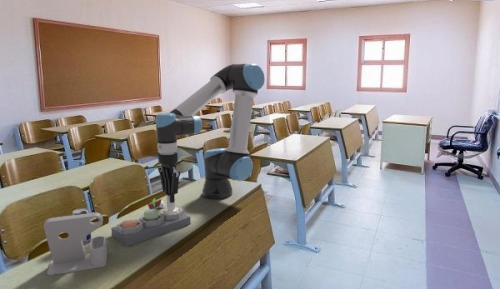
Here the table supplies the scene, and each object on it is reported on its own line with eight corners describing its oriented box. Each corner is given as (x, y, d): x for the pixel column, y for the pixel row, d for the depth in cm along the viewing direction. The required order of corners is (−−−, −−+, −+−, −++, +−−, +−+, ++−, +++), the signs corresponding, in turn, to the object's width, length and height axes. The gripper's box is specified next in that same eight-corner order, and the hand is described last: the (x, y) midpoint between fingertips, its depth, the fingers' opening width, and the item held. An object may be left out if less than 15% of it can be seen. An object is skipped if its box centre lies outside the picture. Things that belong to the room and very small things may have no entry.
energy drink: (83, 245, 129) (80, 214, 126) (72, 243, 130) (68, 212, 128) (94, 239, 133) (91, 208, 131) (83, 237, 135) (80, 207, 133)
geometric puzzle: (142, 211, 154) (152, 197, 153) (147, 205, 161) (156, 191, 160) (156, 220, 155) (166, 206, 154) (160, 214, 162) (170, 201, 160)
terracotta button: (133, 224, 138) (133, 218, 138) (140, 228, 134) (140, 222, 134) (119, 228, 135) (119, 222, 134) (126, 233, 131) (125, 227, 130)
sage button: (154, 213, 144) (154, 208, 144) (161, 217, 140) (161, 211, 140) (141, 217, 140) (141, 212, 140) (148, 222, 136) (148, 216, 136)
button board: (173, 215, 155) (172, 204, 154) (190, 223, 146) (190, 212, 145) (111, 235, 137) (110, 222, 136) (127, 246, 127) (126, 233, 126)
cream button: (174, 211, 151) (173, 206, 150) (181, 215, 147) (181, 209, 146) (162, 215, 147) (161, 209, 146) (169, 219, 143) (169, 213, 142)
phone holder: (108, 251, 124) (103, 202, 120) (107, 266, 115) (101, 213, 111) (52, 260, 119) (45, 209, 115) (45, 276, 109) (37, 221, 106)
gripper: (150, 151, 144) (154, 207, 148) (168, 156, 134) (171, 216, 139) (167, 149, 149) (170, 203, 153) (185, 153, 139) (188, 211, 144)
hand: (171, 209), depth 146 cm, fingers closed
